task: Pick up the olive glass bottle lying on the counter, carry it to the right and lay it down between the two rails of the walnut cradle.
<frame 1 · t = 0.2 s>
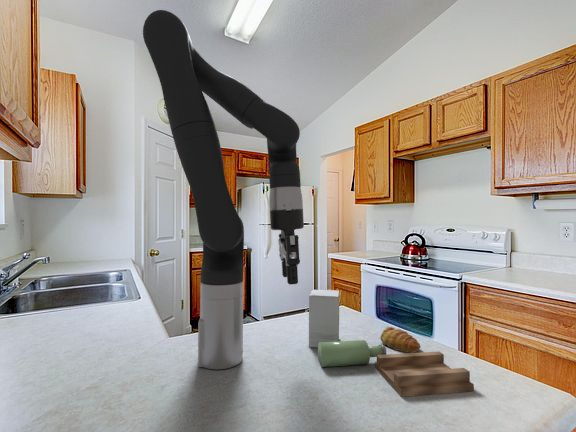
hand: (289, 280, 70), 17 cm above the worktop, tool pointing down, fingers open, 8 cm apart
cradle: (420, 378, 60), on the worktop
pastry: (399, 346, 77), on the worktop
supplement box: (324, 343, 78), on the worktop
bottle: (343, 364, 66), on the worktop
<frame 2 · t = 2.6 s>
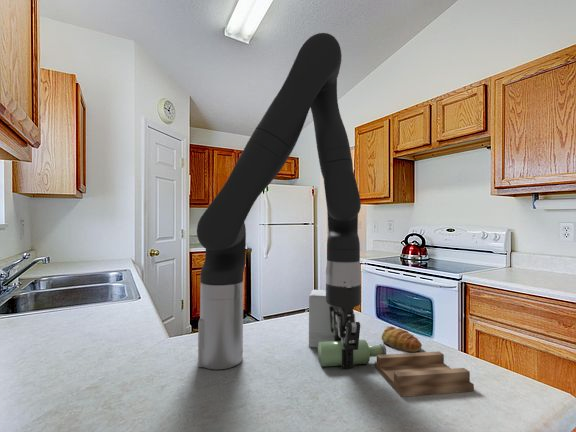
hand: (343, 360, 66), 1 cm above the worktop, tool pointing down, fingers closed on bottle, 4 cm apart
bottle: (343, 363, 66), on the worktop, touching gripper
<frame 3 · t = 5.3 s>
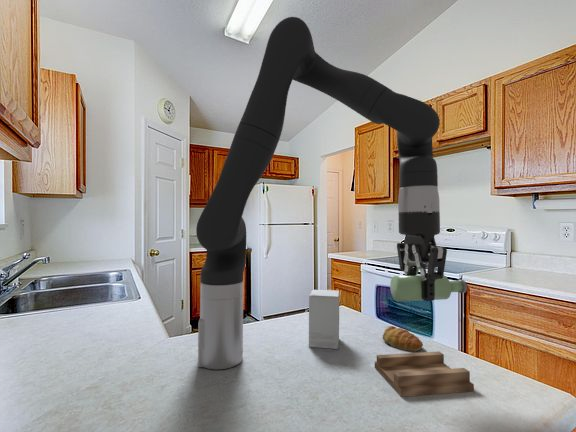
hand: (420, 296, 61), 16 cm above the worktop, tool pointing down, fingers closed on bottle, 4 cm apart
bottle: (420, 300, 61), point 15 cm above the worktop, touching gripper
when the fingers open (4 cm above the worktop, at t = 7.9 s): bottle drops 2 cm, resting on cradle.
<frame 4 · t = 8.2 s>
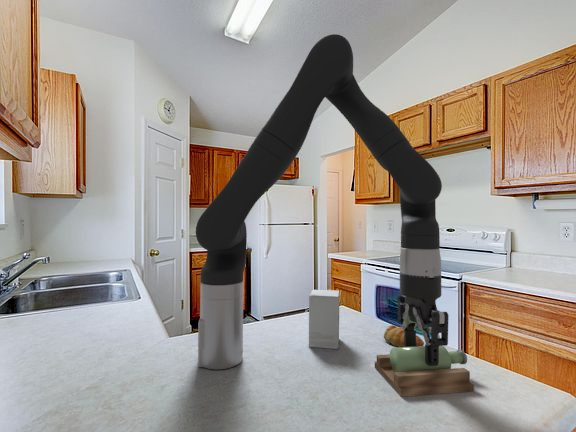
hand: (420, 356, 60), 4 cm above the worktop, tool pointing down, fingers open, 7 cm apart
bottle: (419, 372, 60), point 1 cm above the worktop, touching cradle
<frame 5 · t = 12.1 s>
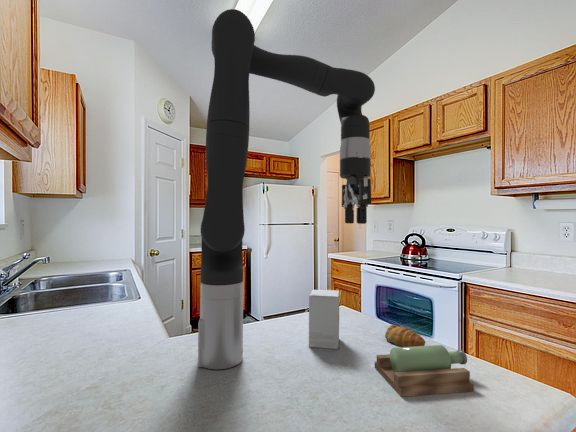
hand: (355, 223, 77), 30 cm above the worktop, tool pointing down, fingers open, 8 cm apart
at the end: bottle inside the target area on the cradle (0.1 cm from its centre), point 1.2 cm above the cradle's base; the gripper is holding nothing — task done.
